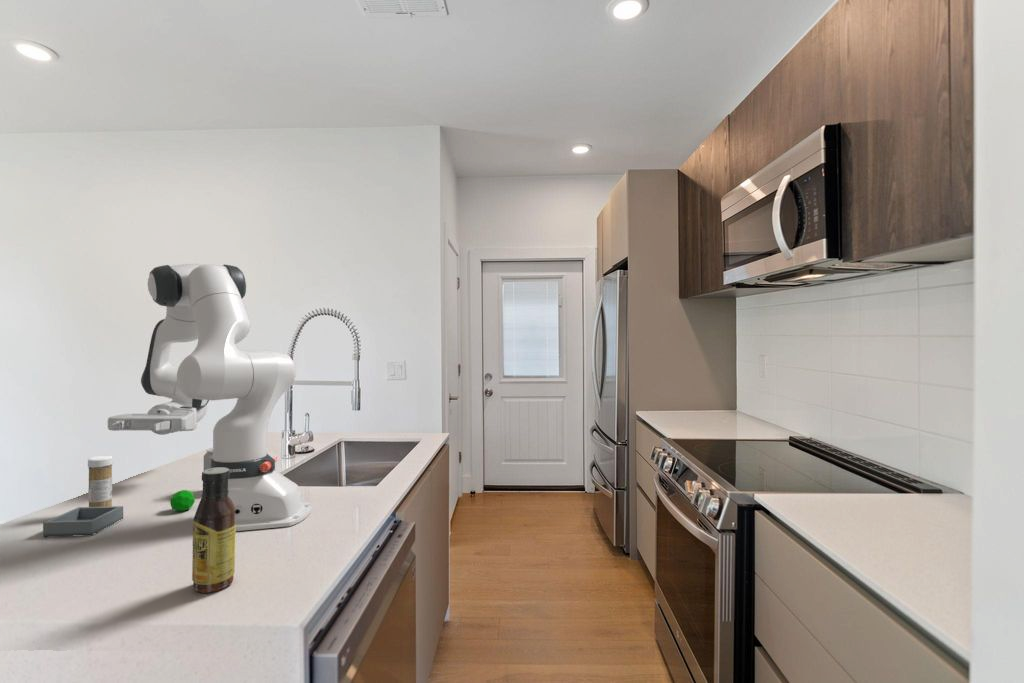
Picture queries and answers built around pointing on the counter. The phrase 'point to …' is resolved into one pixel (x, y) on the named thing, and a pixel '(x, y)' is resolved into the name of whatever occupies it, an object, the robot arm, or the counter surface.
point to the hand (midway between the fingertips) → (133, 427)
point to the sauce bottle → (214, 534)
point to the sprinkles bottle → (100, 481)
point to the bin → (83, 521)
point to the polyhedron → (182, 500)
